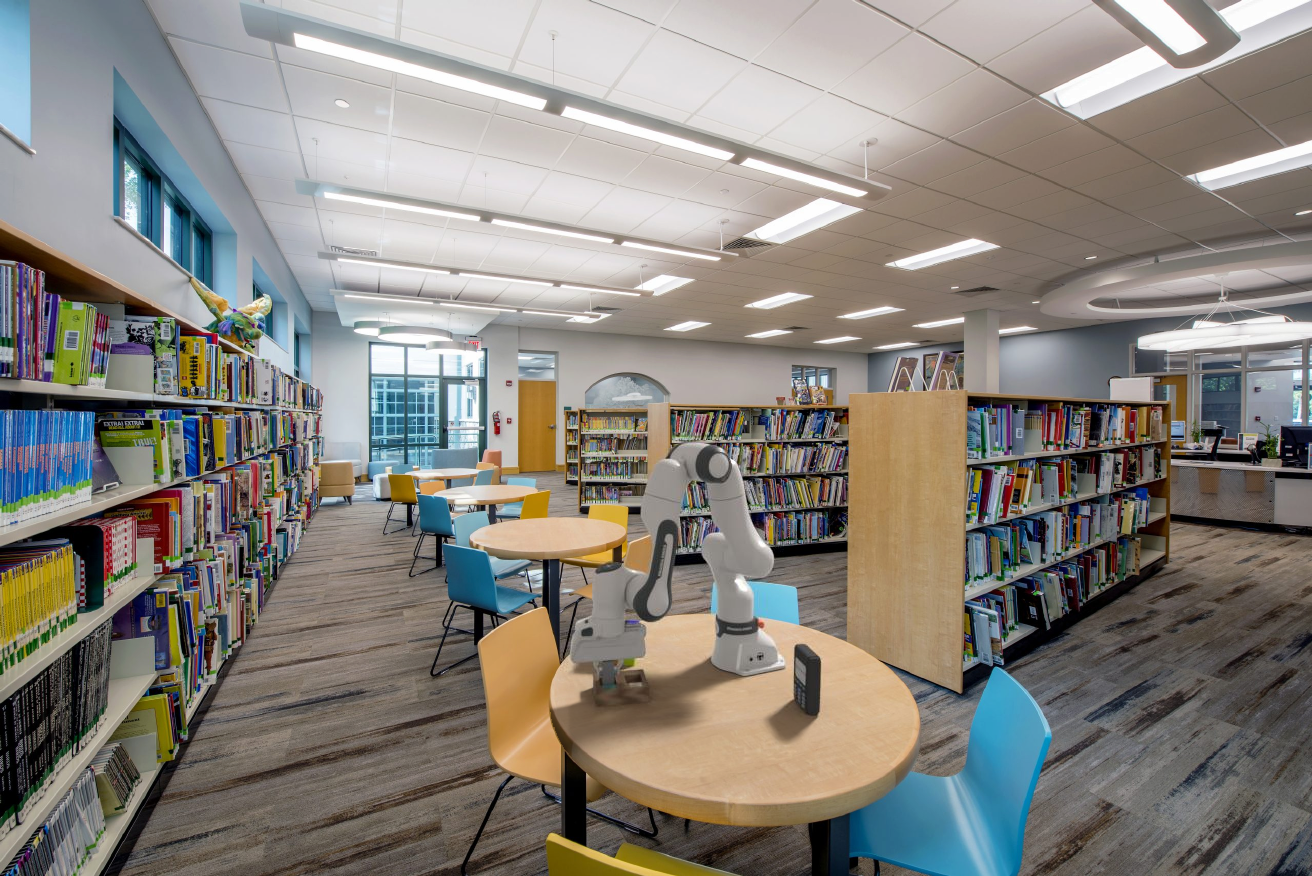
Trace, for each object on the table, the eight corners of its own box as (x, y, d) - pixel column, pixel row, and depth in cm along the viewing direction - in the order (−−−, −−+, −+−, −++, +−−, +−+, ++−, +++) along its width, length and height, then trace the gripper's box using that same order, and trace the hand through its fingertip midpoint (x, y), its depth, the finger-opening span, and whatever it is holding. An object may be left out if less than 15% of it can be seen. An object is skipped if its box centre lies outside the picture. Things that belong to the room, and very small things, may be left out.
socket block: (642, 683, 150) (642, 668, 150) (649, 701, 140) (649, 686, 140) (593, 687, 147) (593, 672, 147) (596, 706, 137) (596, 690, 137)
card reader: (790, 697, 143) (792, 643, 142) (804, 696, 144) (806, 642, 143) (806, 716, 134) (807, 658, 133) (821, 715, 135) (822, 657, 134)
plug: (612, 689, 145) (613, 656, 144) (614, 694, 142) (614, 661, 141) (601, 690, 144) (602, 657, 144) (602, 695, 141) (603, 662, 141)
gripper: (644, 617, 147) (644, 666, 148) (569, 622, 143) (569, 672, 144) (648, 626, 141) (648, 677, 142) (570, 631, 137) (570, 684, 138)
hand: (607, 675), depth 143 cm, fingers closed on plug, 3 cm apart
